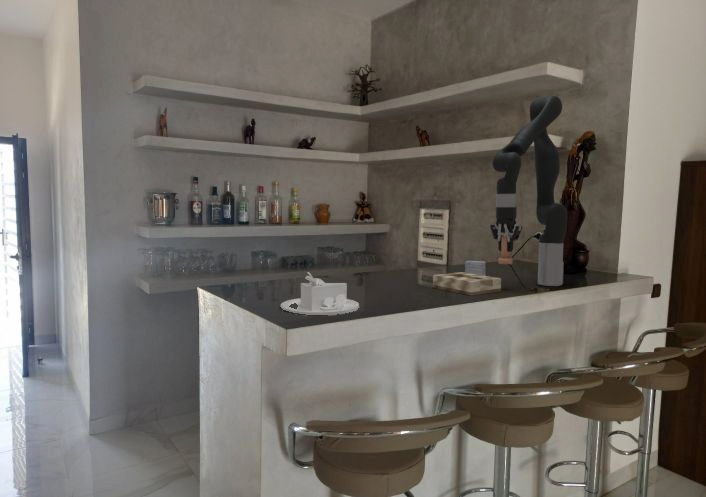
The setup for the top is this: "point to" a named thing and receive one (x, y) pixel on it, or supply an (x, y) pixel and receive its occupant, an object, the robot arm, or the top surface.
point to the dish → (321, 299)
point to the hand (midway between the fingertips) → (505, 251)
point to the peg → (504, 253)
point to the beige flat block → (467, 283)
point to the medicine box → (475, 267)
